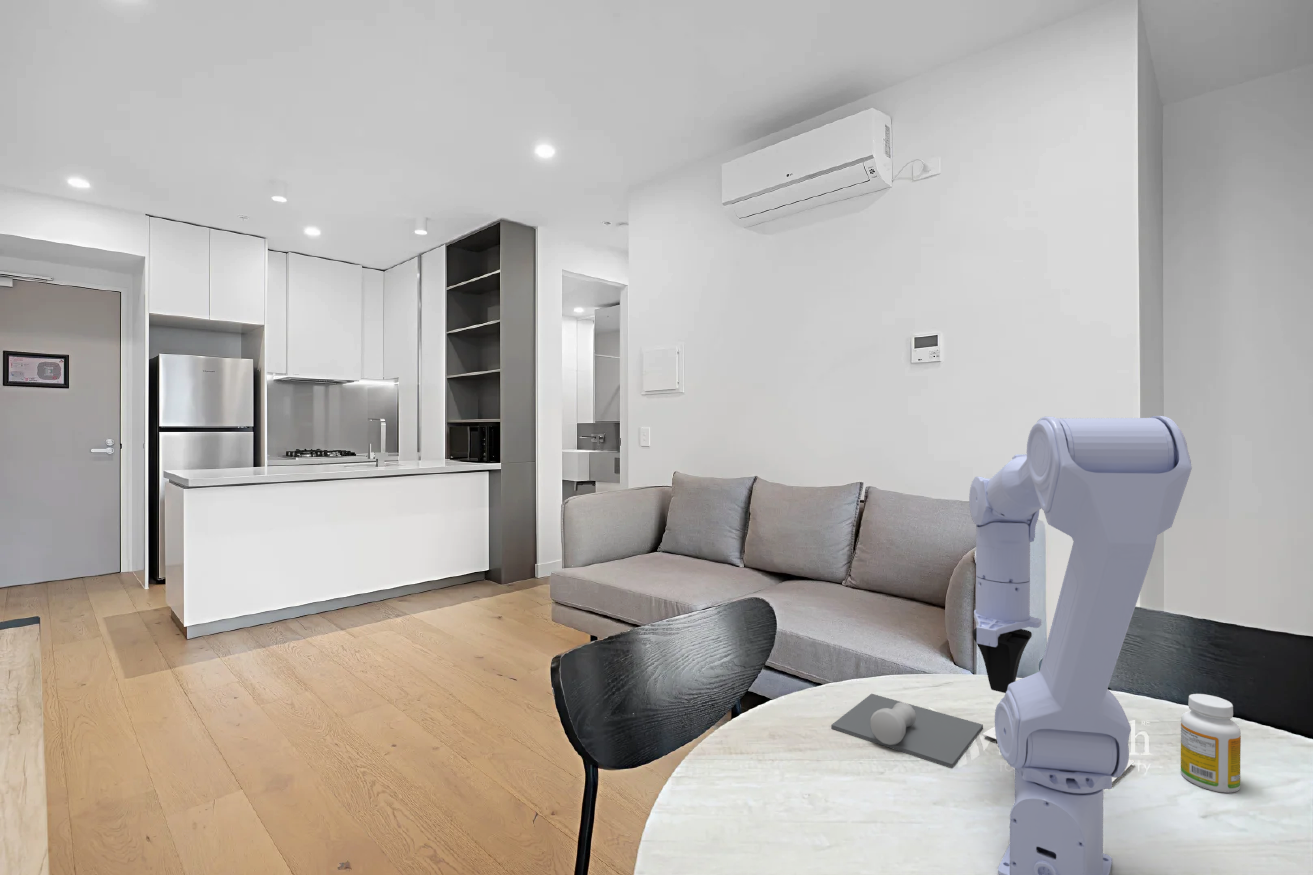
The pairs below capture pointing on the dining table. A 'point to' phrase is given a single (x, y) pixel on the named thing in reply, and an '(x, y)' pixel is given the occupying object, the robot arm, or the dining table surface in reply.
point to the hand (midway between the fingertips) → (1001, 690)
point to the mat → (915, 731)
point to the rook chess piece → (892, 723)
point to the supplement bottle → (1210, 744)
